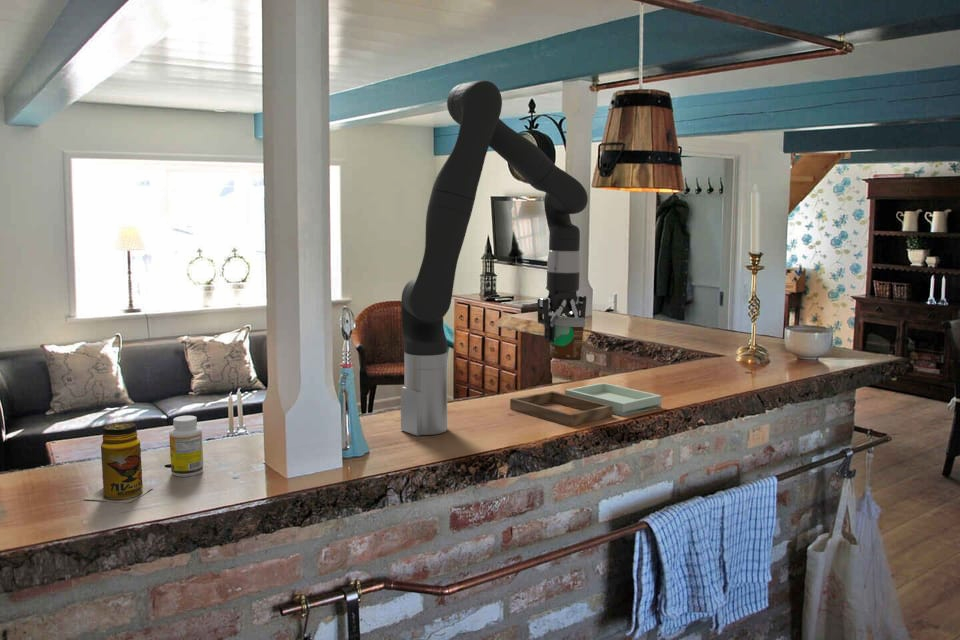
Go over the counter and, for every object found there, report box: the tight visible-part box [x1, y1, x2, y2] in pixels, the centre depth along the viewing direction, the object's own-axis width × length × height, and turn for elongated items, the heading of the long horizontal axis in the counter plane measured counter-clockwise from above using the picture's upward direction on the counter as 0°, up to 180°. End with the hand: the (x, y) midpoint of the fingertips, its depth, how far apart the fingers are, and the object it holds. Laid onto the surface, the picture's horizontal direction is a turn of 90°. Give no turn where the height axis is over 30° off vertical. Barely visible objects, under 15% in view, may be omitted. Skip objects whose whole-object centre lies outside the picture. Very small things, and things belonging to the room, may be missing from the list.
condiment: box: [83, 421, 154, 504], centre depth 139 cm, size 7×8×12 cm
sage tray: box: [564, 382, 662, 417], centre depth 205 cm, size 14×19×3 cm
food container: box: [549, 311, 586, 361], centre depth 194 cm, size 12×6×10 cm, turn 21°
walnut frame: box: [509, 390, 613, 427], centre depth 196 cm, size 14×20×2 cm
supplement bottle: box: [169, 415, 204, 478], centre depth 150 cm, size 6×6×10 cm
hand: (561, 340), depth 194 cm, fingers closed on food container, 7 cm apart
